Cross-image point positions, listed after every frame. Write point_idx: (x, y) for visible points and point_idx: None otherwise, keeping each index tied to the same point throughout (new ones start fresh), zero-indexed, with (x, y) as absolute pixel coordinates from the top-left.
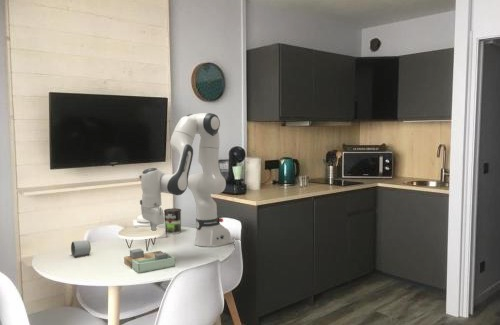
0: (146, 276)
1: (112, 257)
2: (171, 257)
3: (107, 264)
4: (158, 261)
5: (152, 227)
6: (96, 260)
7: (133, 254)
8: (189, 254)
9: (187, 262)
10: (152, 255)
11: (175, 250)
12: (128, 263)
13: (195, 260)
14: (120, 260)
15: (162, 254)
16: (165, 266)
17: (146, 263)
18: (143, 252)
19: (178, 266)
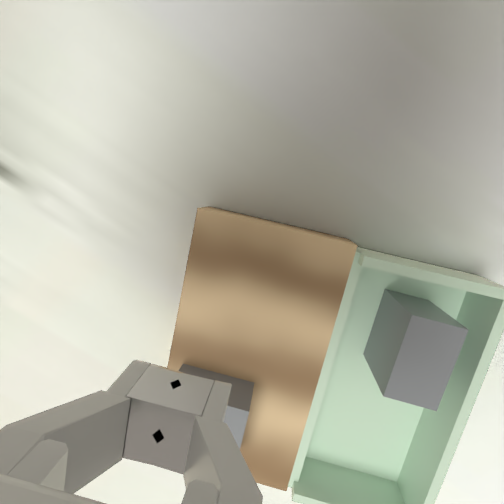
0: (485, 491)
1: (15, 400)
2: (465, 289)
3: (122, 485)
4: (466, 411)
5: (190, 481)
6: None
7: None
8: (326, 10)
9: (483, 160)
10: (266, 323)
11: (147, 23)
12: None
13: (498, 83)
14: None
15: (442, 364)
16: None
17: (436, 486)
18: (250, 404)
19: (500, 262)
